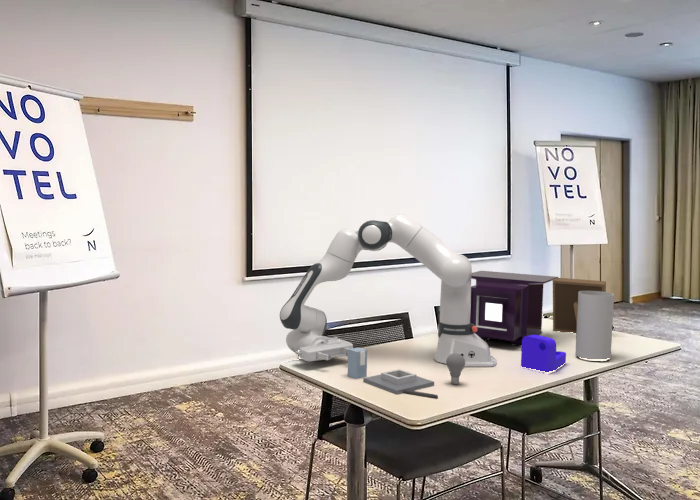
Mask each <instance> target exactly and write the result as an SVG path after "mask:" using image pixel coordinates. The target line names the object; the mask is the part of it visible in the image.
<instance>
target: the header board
mask: <svg viewBox="0 0 700 500" xmlns="http://www.w3.org/2000/svg"><path fill="white" fill-rule="evenodd" d="M363 383H366V384H368V385H371V386H374V387H377V388H379V389H381V390H385V391H387V392H389V393H392V394H395V395H400V394H405V393H404V392H403V391H404V390H411V391H413V390H414V391H417V389H418V390H420V389H421V388H422V389H425V388H429V387H434V386H435V381H433V380H430V379H427V378H423V377H421V376H418V375H417V374H416V373H412V372H409V371H407V370H404V369H401V368H397V369H393V370H389V371H384V372H381V373H380V374H377V375H371V376H367V377H363ZM422 389H421V390H422Z"/></svg>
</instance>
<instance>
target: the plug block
mask: <svg viewBox="0 0 700 500" xmlns="http://www.w3.org/2000/svg"><path fill="white" fill-rule="evenodd" d="M367 370H368V350H367V349H365V348H362V347H358V346H357V347H353V348H352V349H348V356H347V376H348V377H349V378H352V379H355V380H358V379H362V378H366V377H368V376H367V373H368V372H367Z"/></svg>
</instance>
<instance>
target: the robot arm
mask: <svg viewBox="0 0 700 500" xmlns="http://www.w3.org/2000/svg"><path fill="white" fill-rule="evenodd" d="M388 243H393V244H396V245H397V246H399V247H400V248H401V249H403V250H404V251H405V252H407V253H408V254H409V255H410V256H412V257H413V258H415V259H416V260H417V261H418V262H419V263H421V264H422V265H423V266H424V267H426V268H427V269H428V270H429V271H430V272H432V274H434V275H435V276H436V277H437V278H438V279H440V281H441V284H440V298H439V299H440V300H439V321H438V322H437V323H438V324H437V337H438V341H437V347H436V350H435V354H434V357H433V359H434V361H435V362H438V363H441V364H446V360H447V358H448V356H449V355H450V354H453V353H458V354H461V355H462V356H463V358H464V359H465V366H464V368H466V367H467V368H469V367H475V368H476V367H494V366H496V365H497V359H496V357H495V356H492V355H491V349H490V347H489V344H488V342H487V341H484V340H482V339H481V338H480V337H479V336H478V335H476V334H475V332H477V330H478V329H477V327H476V326H475V325H474V324H472V323H470V308H471V286H472V279H471V275H472V273H473V272H472V271H473V269H472V267H473V266H472V264H471V261H470V259H469V258H468V257H467V256H465V255H463V254H461V253H458V252H456V250H454V249H453V248H452V247H450V245H448V244H446V242H444V241H443V240H442V239H440V237H438V236H437V235H436V234H434V233H433V232H431V231H430V230H428V229H427V228H426V227H424V226H423V225H422V224H420V223H419V222H418V221H416V220H414V219H413V218H411V217H408V216H407V215H404V214H401V213H399V214H396V215H393V217H391V218H390V219H389V221H388V222H387V221H384V220H383V221H382V220H367V221H365V222H364V223H362V224H361V225H360V227H359V228H358V230H357V231H356V230H353V229H349V228H341V229H340V230H339V231H337V233H336V234H335V236H334V237H333V239H332V240H331V242H330V244H329V246H328V247H327V250H326V252H325V254H324V256H323V257H322V258H321V259H320V260H319V261H318V262H317V263H314V264H312V265H311V266H310V267H309V268H308V270H307V272H306V273H305V274H304V276H303V277H302V279H301V280H300V282H299V284H298V285H297V287H295V288H296V289H295V290H294V292H293V293H292V295H291V296H290V298H289V299H288V300H287V301H286V302H285V304H284V305H283V306H282V307H281V309H280V312H279V320H280V322H281V324H282V326H283V327H284V328H285V329H289V332H288V333H287V335H286V337H285V341H286V345H287V347H288V349H289V350H290V351H292V352H293V353H294V354H295V355H299V358H300V359H301V360H303V361H305V362H315V361H316V362H318V361H323V360H324V361H331V359H332V358H338V357H342V356H345V357H348V349H352V348H354V344H353V343H352V342H349V341H347V340H344V339H340V338H338V336H335V335H334V336H332V335H331V336H329V335H327V336H325V335H324V334H325V333H326V329H327V325H328V321H327V315H326V313H325V312H324V311H323V310H321V309H318V308H314V307H312V306H309V305H305V303H306V302H307V300H308V299H309V297H310V295H312V292H313V291H314V289H315V288H316V287H317V286H318V285H320V284H322V283H326V282H336V281H339V280H342V279H344V278H347V276H349V274H350V272H351V270H352V268H353V265H354V263H355V261H356V259H357V257H358V255H359V253H360V252H361V251H362V250H363V251H370V252H378V251H381V250H383V249H384V248H385V247H387V245H388ZM446 365H447V364H446Z"/></svg>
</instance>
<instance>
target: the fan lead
mask: <svg viewBox="0 0 700 500" xmlns="http://www.w3.org/2000/svg"><path fill="white" fill-rule="evenodd" d="M403 392H404V393H403V394H408V395H409V394H410V395H414V394H415V395H416V396H420V395H421V397H422V396H423V397H426V396H427V398H432V397H434V398H433V399H438V398H439V396H438V394H435V393H434V394H433V393H428V392H422V391H417V390H414V391H411V390H404V391H403Z"/></svg>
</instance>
